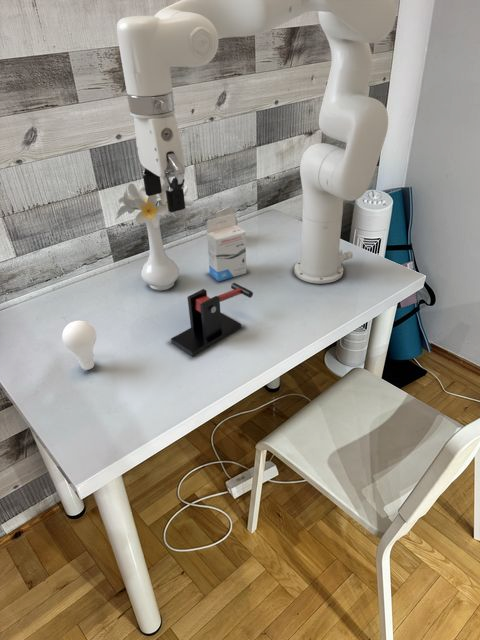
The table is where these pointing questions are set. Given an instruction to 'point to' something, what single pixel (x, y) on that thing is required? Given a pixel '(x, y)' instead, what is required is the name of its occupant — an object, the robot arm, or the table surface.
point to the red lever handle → (225, 295)
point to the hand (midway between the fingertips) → (165, 202)
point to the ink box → (226, 248)
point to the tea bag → (225, 214)
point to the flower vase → (153, 233)
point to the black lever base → (204, 325)
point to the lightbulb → (80, 342)
